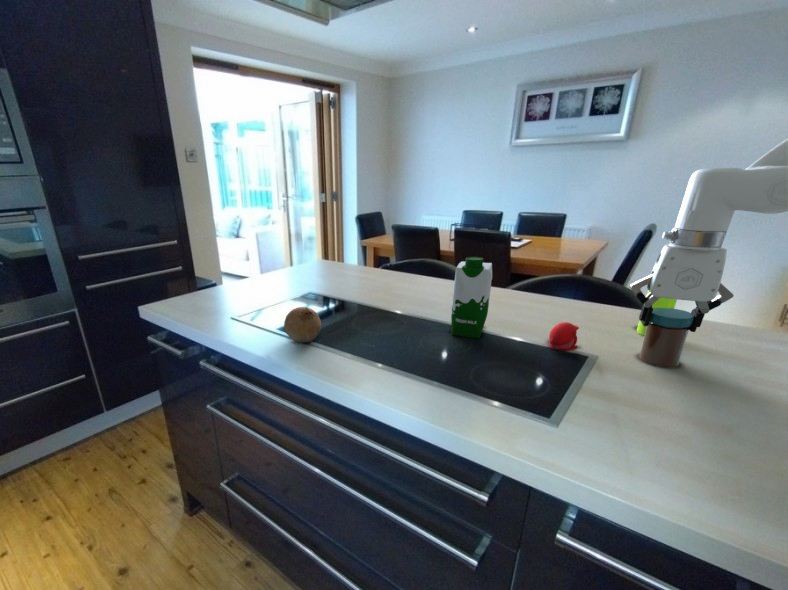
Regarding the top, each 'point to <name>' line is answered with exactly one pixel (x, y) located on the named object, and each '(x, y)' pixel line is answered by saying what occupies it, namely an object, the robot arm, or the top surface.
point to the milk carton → (471, 297)
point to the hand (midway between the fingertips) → (667, 326)
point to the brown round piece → (302, 324)
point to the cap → (563, 337)
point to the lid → (671, 317)
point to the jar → (663, 345)
